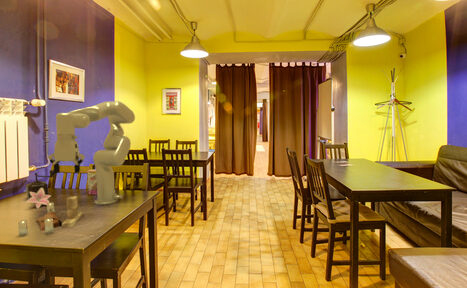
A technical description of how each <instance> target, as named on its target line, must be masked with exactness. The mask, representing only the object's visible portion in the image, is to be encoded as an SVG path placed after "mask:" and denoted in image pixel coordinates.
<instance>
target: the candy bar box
mask: <svg viewBox="0 0 467 288" xmlns="http://www.w3.org/2000/svg"><path fill="white" fill-rule="evenodd" d="M86 174H87V176H86V177H87V195H88V196H91V195H92V196H97V179H96V169H89V170H87V171H86Z"/></svg>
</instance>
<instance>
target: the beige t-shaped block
mask: <svg viewBox="0 0 467 288" xmlns="http://www.w3.org/2000/svg"><path fill="white" fill-rule="evenodd" d="M78 205H79V204H78V196H73V195H72V196H68V197H67V198H66V212H67V213H66V214H67V218H66V220H64V221H63V222H62V226H61V228H62V229H63V228H65V229H66V228H72V227H74V225H76V223H77V222H78V221H79V220H80V219H81V218H82V217H83V216H84V211H79V206H78Z"/></svg>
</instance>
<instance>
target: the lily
mask: <svg viewBox="0 0 467 288" xmlns="http://www.w3.org/2000/svg"><path fill="white" fill-rule="evenodd" d="M30 194H31V196H32V197H31V198H30V199H28V200H25V201H26V203H33V204H34V203H35V204H34V205H35V208H36V209H39V208H40V207H41V206H42V205H46V206H47V203H51V202H50V201H49V198H50V197H52V195H51V194H48V195H45V192H44V189H43V188H40V190H39V191H38V192H37V193H34V192H30Z"/></svg>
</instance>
